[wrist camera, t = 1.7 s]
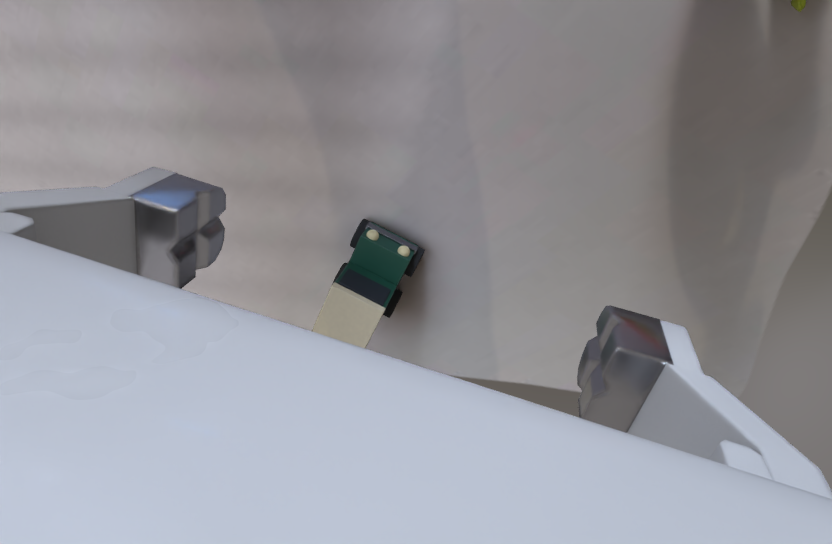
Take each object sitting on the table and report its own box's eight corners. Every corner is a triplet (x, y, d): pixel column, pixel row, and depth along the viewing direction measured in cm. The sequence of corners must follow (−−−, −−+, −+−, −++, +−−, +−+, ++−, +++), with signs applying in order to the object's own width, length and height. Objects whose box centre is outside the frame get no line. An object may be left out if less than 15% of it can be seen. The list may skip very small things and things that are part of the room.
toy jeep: (392, 310, 52) (366, 364, 45) (336, 282, 52) (301, 331, 45) (430, 238, 48) (408, 285, 40) (370, 207, 47) (336, 248, 40)
